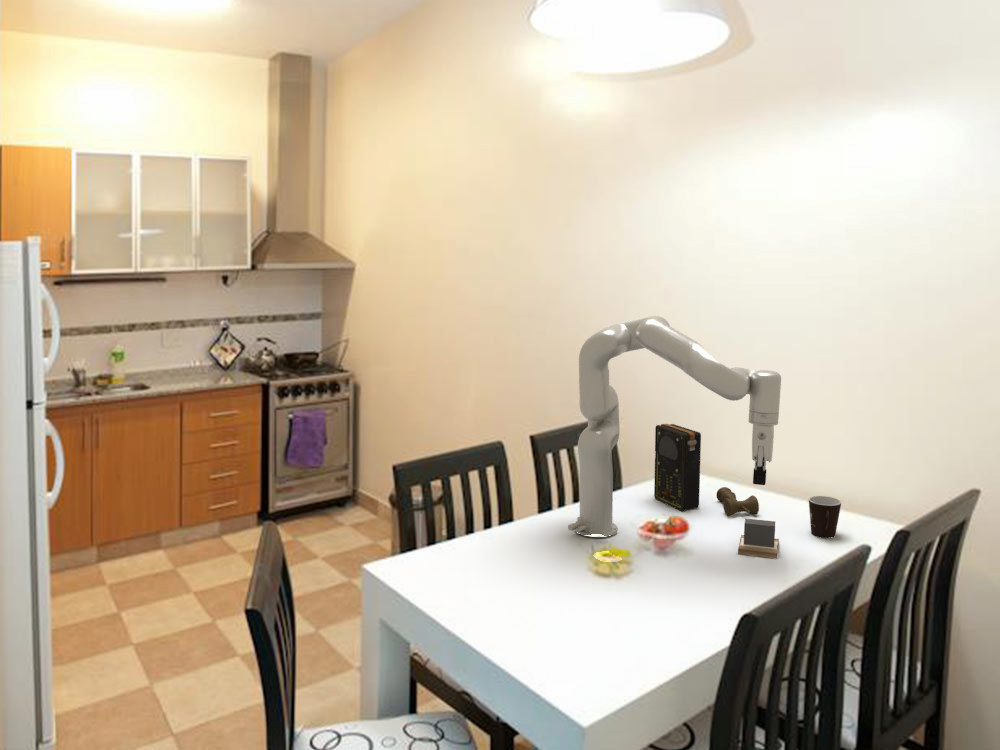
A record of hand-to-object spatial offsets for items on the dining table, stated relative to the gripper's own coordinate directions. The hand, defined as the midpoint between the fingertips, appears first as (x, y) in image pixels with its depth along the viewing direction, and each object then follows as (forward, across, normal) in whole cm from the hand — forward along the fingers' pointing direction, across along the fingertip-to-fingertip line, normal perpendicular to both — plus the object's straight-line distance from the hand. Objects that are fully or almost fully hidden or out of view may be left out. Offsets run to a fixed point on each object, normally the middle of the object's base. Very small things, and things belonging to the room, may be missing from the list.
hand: (759, 483), depth 214 cm
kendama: (+19, +31, +7) cm, 37 cm away
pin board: (+18, 0, -1) cm, 18 cm away
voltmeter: (+19, +32, +26) cm, 45 cm away
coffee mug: (+18, +16, -17) cm, 30 cm away
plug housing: (+17, 0, -1) cm, 17 cm away
